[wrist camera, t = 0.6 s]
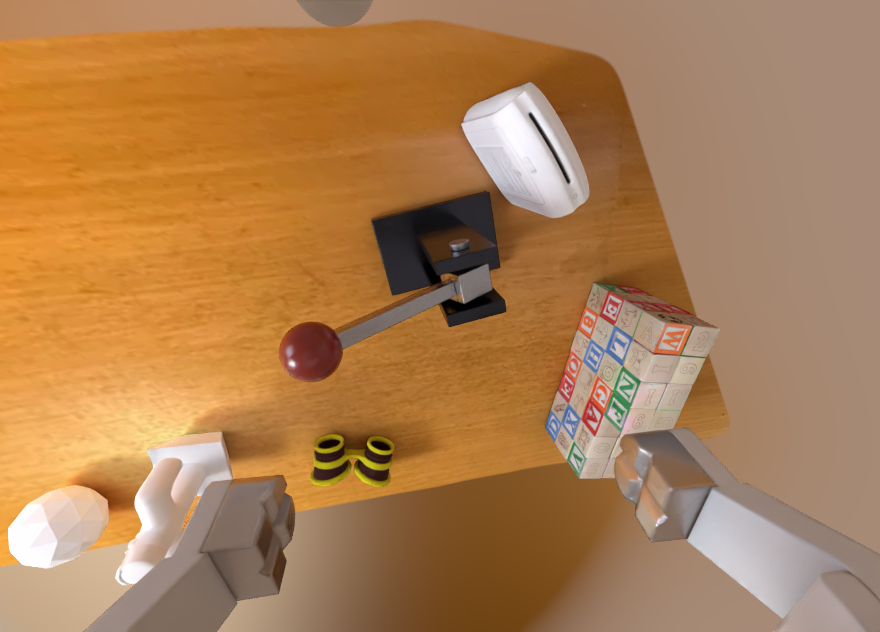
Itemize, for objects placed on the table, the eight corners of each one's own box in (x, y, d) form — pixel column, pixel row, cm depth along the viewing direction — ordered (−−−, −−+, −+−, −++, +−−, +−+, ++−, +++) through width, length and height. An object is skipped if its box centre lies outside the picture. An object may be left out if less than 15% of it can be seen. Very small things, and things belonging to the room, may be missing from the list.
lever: (286, 378, 24) (301, 403, 21) (263, 329, 22) (276, 348, 20) (469, 291, 31) (500, 300, 28) (461, 248, 29) (492, 254, 26)
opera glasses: (393, 431, 49) (397, 452, 45) (388, 468, 50) (391, 492, 45) (316, 428, 47) (311, 450, 42) (312, 466, 48) (307, 492, 43)
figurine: (230, 412, 43) (166, 530, 30) (246, 474, 47) (196, 604, 33) (161, 418, 42) (62, 544, 29) (183, 481, 46) (104, 619, 32)
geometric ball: (114, 488, 48) (94, 563, 44) (23, 491, 43) (-8, 576, 39) (124, 478, 43) (103, 560, 39) (24, 480, 38) (-12, 575, 34)
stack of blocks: (583, 428, 54) (639, 500, 43) (543, 427, 52) (591, 501, 41) (638, 286, 46) (724, 329, 35) (592, 280, 45) (667, 322, 34)
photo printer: (543, 183, 39) (613, 195, 28) (509, 210, 40) (565, 232, 28) (489, 91, 35) (546, 61, 24) (452, 122, 35) (491, 107, 24)
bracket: (391, 292, 41) (402, 359, 28) (371, 219, 38) (372, 254, 24) (497, 264, 42) (557, 317, 28) (486, 190, 38) (548, 210, 25)
